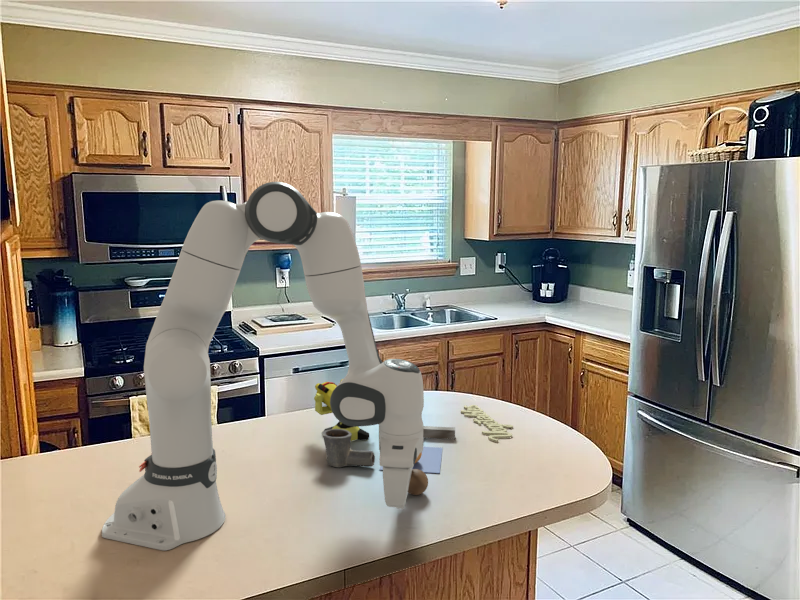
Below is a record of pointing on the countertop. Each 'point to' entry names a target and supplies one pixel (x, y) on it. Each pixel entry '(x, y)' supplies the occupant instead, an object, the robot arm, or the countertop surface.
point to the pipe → (344, 450)
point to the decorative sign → (487, 423)
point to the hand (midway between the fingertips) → (400, 505)
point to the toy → (324, 396)
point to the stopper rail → (439, 432)
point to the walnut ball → (417, 482)
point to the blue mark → (429, 460)
